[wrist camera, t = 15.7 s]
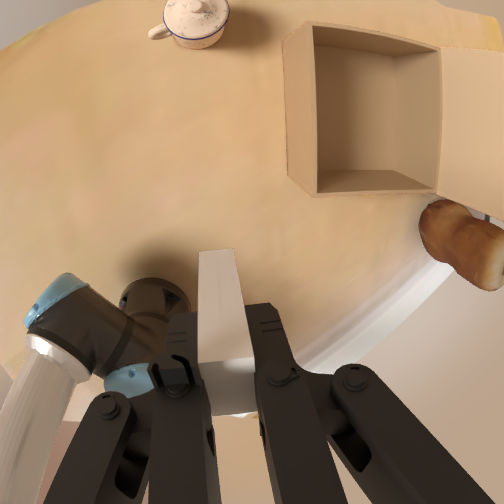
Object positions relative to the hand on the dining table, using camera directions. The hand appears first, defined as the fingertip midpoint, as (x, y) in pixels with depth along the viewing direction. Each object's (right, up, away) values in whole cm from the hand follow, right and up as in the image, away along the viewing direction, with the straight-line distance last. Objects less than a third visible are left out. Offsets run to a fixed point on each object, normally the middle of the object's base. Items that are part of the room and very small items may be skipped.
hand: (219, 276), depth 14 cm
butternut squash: (+42, +9, +47) cm, 63 cm away
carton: (+18, +26, +34) cm, 47 cm away
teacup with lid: (-9, +37, +25) cm, 45 cm away
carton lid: (+36, +17, +14) cm, 42 cm away
